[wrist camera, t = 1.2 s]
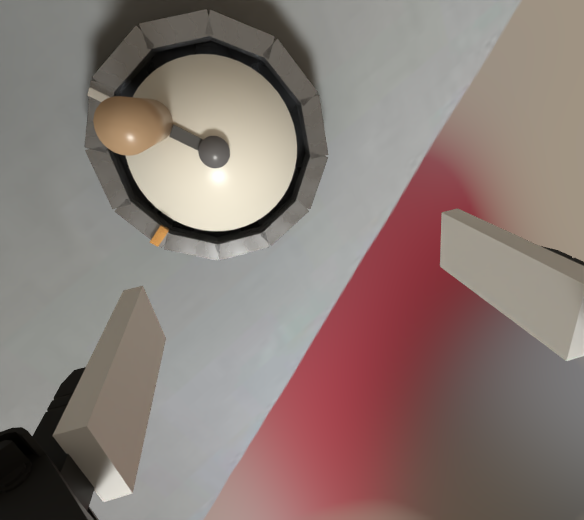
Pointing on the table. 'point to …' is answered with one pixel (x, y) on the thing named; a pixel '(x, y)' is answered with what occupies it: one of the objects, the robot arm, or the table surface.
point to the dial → (204, 141)
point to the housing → (241, 47)
